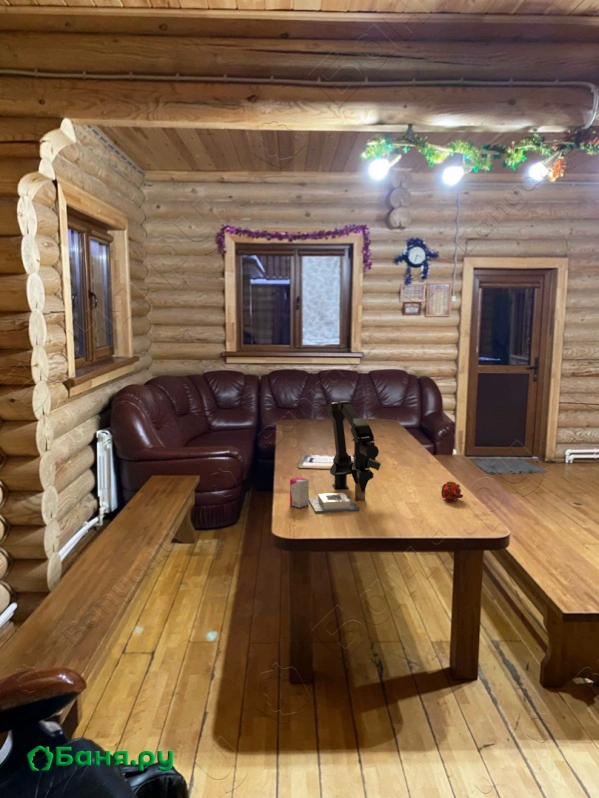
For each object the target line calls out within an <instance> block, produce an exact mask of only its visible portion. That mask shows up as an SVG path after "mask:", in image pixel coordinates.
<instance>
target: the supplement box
mask: <svg viewBox="0 0 599 798" xmlns="http://www.w3.org/2000/svg"><path fill="white" fill-rule="evenodd" d="M309 480H310V479H308V478H305V477H300V476H298V477H295V478H290V479H289V506H290V505H291V506H290V507H292V506H294V507H293V508H295V507H296V508H295V509H298V508H300V509H302V507H303V508H306V507H309V506H310V505H309V504H310V502H309V498H310V495H309V494H310V493H309V492H310V491H309V489H310V487H309V485H310V484H309V483H310V481H309ZM305 506H306V507H305Z"/></svg>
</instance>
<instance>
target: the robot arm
mask: <svg viewBox="0 0 599 798" xmlns="http://www.w3.org/2000/svg"><path fill="white" fill-rule="evenodd" d="M326 411H327V414H328V418H329V419H330V420H331V422H332V427H333V437H334V447H335V455H334V457H333V460H332V461H333V462H332V465H331V466H330V468H329V473H330V475H331V476H333V478H334V479H333V480H334V483H333V484H332V483H331V484H332V485H331V486H332V487H333V488H334V490H345V489H349V488H350V487H349V486H348V482H347V481H348V475H351V477H352V479H353V481H354V484H356V483H359V485H360V488H361V491H362V492H365V493H366V488H367V485H368V482H369V481H370V480H372V479H374V473H373V471H372V470H371V469H373V470H375V471H380V470H379V469H380V468H381V465H382V464H381V462H380V461H379V460H377V459H376V458H377V457H378V455H379V453H380V450H379V447H378V446H377V445H376V443H375V436H374V434H373V431H372V428H371V425H369V424H368V423H367V421H366V420H363V419H361V418H360V417H359V415H358V413H357V412H356V411H355V408H353V406H352V403H351V402H350V401H349V400H342V401H341V400H340V401H337V402H330V403H329V404H327V406H326ZM345 420H347V422H348V424H349V425H350V432H351V435H352V437H353V438H352V441H353V448H354V449H353V454H352V456H351V455H349V453H348V452H347V446H346V445H347V444H346V443H347V442H346V435H345V427H344V426H345V425H344V423H345V422H344V421H345ZM352 459H353V460H352ZM370 468H371V469H370Z"/></svg>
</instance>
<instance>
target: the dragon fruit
mask: <svg viewBox="0 0 599 798" xmlns="http://www.w3.org/2000/svg"><path fill="white" fill-rule="evenodd" d="M460 487H461V485H460V484H457V483H456V482H455V481H447V482H445V483H444V484H443V485H442V486H441V490H440V491H441V492H440V494H441V498H442V499H445V501H446V502H448V503H451V502H452V501H454V502H456V501H457V500H459V499H462V498H463V497H464V494H461V493H462V489H461V488H460Z"/></svg>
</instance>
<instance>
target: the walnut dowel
mask: <svg viewBox="0 0 599 798" xmlns="http://www.w3.org/2000/svg"><path fill="white" fill-rule="evenodd" d="M354 484H355V483H354ZM355 500H356V501H355ZM354 501H355V502H358V501H363V502H366V491H365V492H362V491H361V488H360V485H359V483H356V484H355V485H354Z"/></svg>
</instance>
